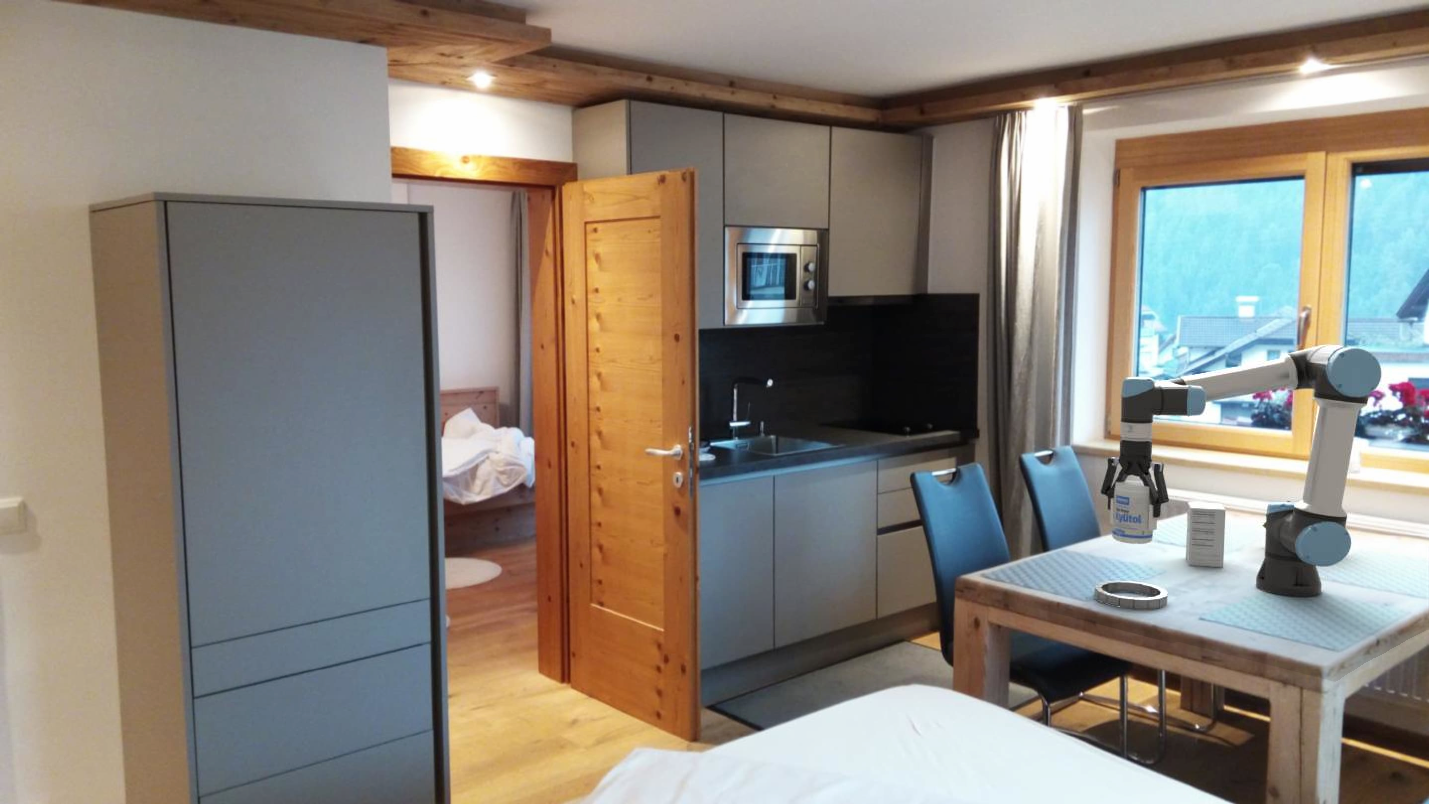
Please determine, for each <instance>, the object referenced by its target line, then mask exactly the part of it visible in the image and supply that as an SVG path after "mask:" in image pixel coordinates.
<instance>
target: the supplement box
mask: <svg viewBox="0 0 1429 804" xmlns="http://www.w3.org/2000/svg"><path fill="white" fill-rule="evenodd" d="M1226 511H1227V510H1226V508H1225V507H1224V506H1223V504H1222V503H1209V502H1207V503H1206V502H1194V501H1193V502H1192V501H1191V502H1189V501H1188V502H1187V512H1186V513H1187V518H1186V519H1187V520H1186V521H1187V524H1186V538H1185V539H1186V541H1185V542H1186V544H1185V560H1186V562H1187V564H1188V566H1195V565H1196V566H1197V567H1209V566H1210V567H1212V568H1222V567H1223V568H1224V561H1225V560H1224V553H1225V535H1226V531H1225V529H1226V528H1225V527H1226ZM1196 566H1195V567H1196ZM1210 567H1209V568H1210Z"/></svg>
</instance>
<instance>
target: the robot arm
mask: <svg viewBox="0 0 1429 804" xmlns="http://www.w3.org/2000/svg"><path fill="white" fill-rule="evenodd" d="M1381 380H1382V367H1381V365H1380V362H1379V361H1378V359H1377V358H1376V356H1375V355H1373V354H1372V353H1371V352H1369V351H1368V350H1366V349H1363V348H1360V347H1357V346H1353V345H1352V346H1351V345H1350V346H1347V345H1345V346H1344V345H1336V344H1323V345H1318V346H1313V347H1310V348H1306V349H1303V350H1302V349H1301V350H1297V351H1293V352H1290V353H1289V352H1288V353H1283V354H1282V355H1281V356H1280V358H1278V359H1274V360H1268V361H1261V362H1257V363H1252V364H1246V365H1241V366H1235V367H1230V368H1224V369H1221V370H1215V371H1208V372H1204V373H1203V372H1202V373H1199V374H1193V375H1188V376H1182V377H1179V378H1177V377H1176V378H1173V379H1167V380H1166V379H1158V380H1157V379H1156V380H1155V379H1154V378H1152V377H1148V376H1147V377H1144V376H1142V377H1141V376H1130V377H1125V378H1124V379H1123V381H1122V387H1121V394H1120V397H1121V398H1120V399H1121V403H1120V404H1121V406H1120V409H1121V410H1120V414H1121V415H1120V428H1119V429H1120V430H1119V431H1120V437H1121V439H1120V440H1119V457H1116V456H1113V457H1108V458H1107V469H1106V472H1105V475H1104V479H1103V482H1102V485H1101V489H1100V494H1101V495H1104V496H1106V497H1107V510H1108V511H1109V512H1110V513H1109V514H1110V517H1109V524H1110V525H1113V509H1114V490H1115V484H1116V482H1123V481H1125V480H1127V478H1128V477H1129V476H1135V477H1139V479H1140V481H1143V484H1144V486H1148V487H1149V497H1150V499H1151V501H1152V504H1150V505H1149V524H1148V530H1149V531H1152V530H1153V531H1156V530H1157V529H1158V528H1157V526H1158V525H1157V524H1158V518H1160V517H1161V508H1162V504H1166V503H1169V501H1170V498H1169V494H1168V490H1167V489H1168V488H1167V485H1166V479H1165V475H1164V468H1165V464H1164V463H1163V462H1154V461H1153V459H1152V454H1153V441H1152V438H1153V434H1154V432H1153V429H1154V426H1153V424H1154V416H1157V417H1158V416H1177V417H1179V416H1181V417H1186V416H1187V417H1192V416H1193V417H1195V416H1201V415H1202V414H1203V413H1204V411H1205V409H1206V406H1207V405H1206V403H1208V402H1214V401H1220V400H1225V399H1231V398H1237V397H1242V396H1248V395H1255V394H1259V393H1260V394H1261V393H1264V392H1270V391H1276V390H1280V389H1281V390H1282V389H1287V390H1289V391H1292V392H1293V391H1298V390H1310V389H1311V390H1313V393H1312V399H1313V401H1314V402H1315V403H1316V404H1317V410H1316V411H1317V412H1316V419H1315V424H1314V429H1313V434H1312V442H1311V446H1310V454H1309V458H1308V464H1307V465H1308V466H1307V470H1306V476H1305V483H1304V487H1303V494H1302V498H1301V500H1299V502H1297V501H1295V502H1294V501H1290V502H1287V501H1274V502H1270V503H1269V504H1268V505H1267V508H1266V514H1265V517H1266V518H1265V522H1266V528H1265V541H1264V544H1265V546H1264V558H1263V560H1262V563H1261V564H1260V568H1259V570H1258V572H1257V575H1256V577H1255V586H1256V587H1257V588H1258V589H1260V590H1263V591H1265V592H1268V593H1272V594H1277V595H1281V596H1283V595H1284V596H1290V597H1291V596H1292V597H1313V596H1314V597H1315V596H1318V595H1320V594H1322V586H1323V585H1322V581H1321V577H1320V574H1319V571H1318V567H1321V568H1323V567H1324V568H1325V567H1327V568H1328V567H1332V566H1335V565H1336V564H1338V563H1340V562H1342V561H1343V560H1344V559H1345V558H1346V557H1347V556H1348V554H1349V553H1350V551H1351V548H1352V538H1351V536H1350V535H1351V534H1349V531H1348V530H1347V528H1346V525H1347V519H1348V513H1347V512H1346V511H1345V509H1344V508H1343V506H1342V505H1343V500H1344V494H1345V488H1346V483H1347V477H1348V472H1349V467H1350V461H1351V455H1352V450H1353V443H1354V439H1355V432H1356V428H1357V427H1356V426H1357V421H1358V416H1359V411H1360V410H1362V409H1363V408H1365V407H1366V406H1367V405H1368V402H1369V395H1370V394H1371V393H1373V392H1374V391H1375V390H1376V389H1377V388H1378V386H1379V385H1380V383H1381ZM1119 465H1120V467H1121V469H1120V471H1119V472H1118V476H1117V477H1116V479H1114V478H1115V476H1116V473H1117V472H1116V471H1117V469H1118V466H1119ZM1150 469H1151V471H1153V477H1154V482H1153V479H1152V475H1151V472H1150ZM1114 480H1115V481H1114Z"/></svg>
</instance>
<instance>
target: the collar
mask: <svg viewBox="0 0 1429 804" xmlns="http://www.w3.org/2000/svg"><path fill="white" fill-rule="evenodd" d="M1115 591H1129V592H1128V593H1134V592H1136V594H1141V593H1143V594H1142V595H1145V594H1146V596H1150V597H1130V596H1123V595H1118V594H1113V593H1115ZM1108 592H1109V593H1108ZM1168 594H1169V593H1168V591H1167V590H1165V589H1164V588H1162V587H1160V586H1157V585H1154V584H1149V583H1145V582H1141V581H1134V580H1133V581H1131V580H1109V581H1108V580H1107V581H1103V582H1099V583H1097V584H1096V585H1095V587H1094V598H1095V597H1096V598H1097V599H1098V600H1100V601H1102V602H1104V603H1107V604H1110V605H1109V606H1111V605H1114V606H1113V607H1115V606H1120V607H1126V608H1125V609H1128V608H1131V609H1130V610H1145V609H1148V610H1156V609H1155V608H1157V609H1160V608H1164V607H1166V606H1167V604H1168V596H1169V595H1168ZM1096 598H1095V599H1096ZM1097 599H1096V600H1097ZM1098 600H1097V601H1098ZM1100 601H1099V602H1100ZM1102 602H1101V603H1102ZM1104 603H1103V604H1104ZM1107 604H1106V605H1107ZM1120 607H1119V608H1120Z"/></svg>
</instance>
